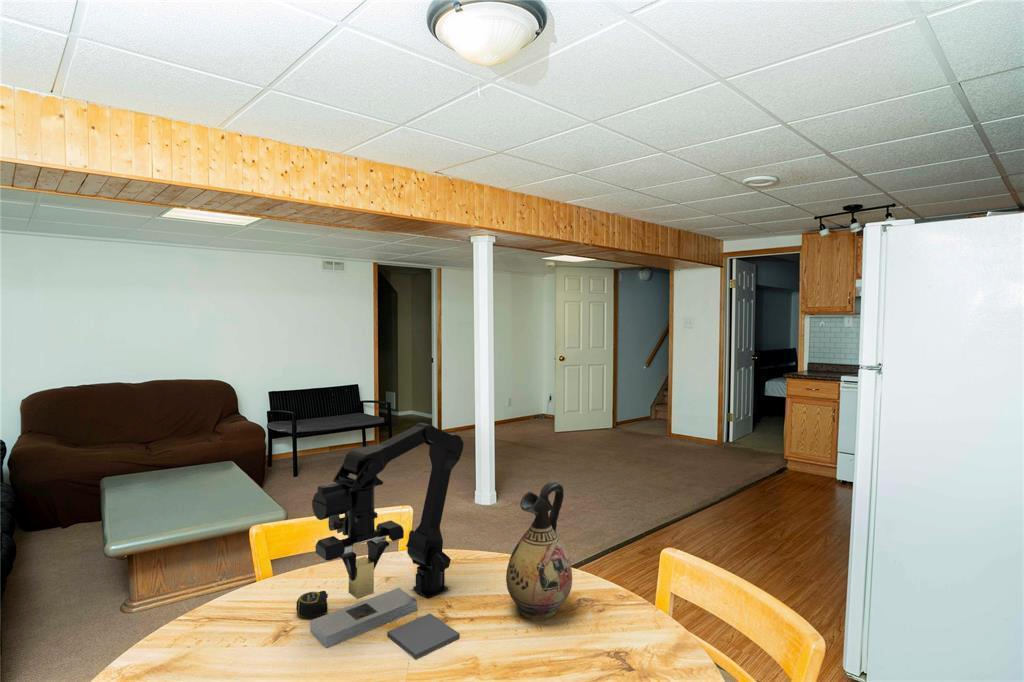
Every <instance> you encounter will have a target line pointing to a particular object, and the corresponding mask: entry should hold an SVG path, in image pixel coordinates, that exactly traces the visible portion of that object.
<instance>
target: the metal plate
mask: <svg viewBox="0 0 1024 682" xmlns="http://www.w3.org/2000/svg"><path fill="white" fill-rule="evenodd" d="M414 612H418V599H416V598H415V597H413V596H412V595H410V594H409V593H408V592H406V591H405V590H403V589H402V588H400V587H397V588H394V589H392V590H389V591H386V592H384V593H380V594H377V595H375V596H372V597H369V598H368V599H365V600H363V601H362V600H361V601H359V602H357V603H354V604H352V605H351V604H350V605H348V606H347V607H344V608H343V607H342V608H341V609H337V610H335V611H333V612H330V613H326V614H323V615H322V616H321V615H320V617H319V616H318V617H316V618H314V619H313V618H312V619H310V620H309V623H310V624H309V627H310V628H309V632H310V634H312V636H313V637H314V638H315V639H316V640H318V641H319V643H320V644H321V645H323V646H324V648H326V649H327V648H330V647H333V646H335V645H337V644H340V643H342V642H344V641H347V640H350V639H353V638H355V637H358V636H359V635H362V634H364V633H366V632H367V633H368V632H369V631H371V630H374V629H376V628H378V627H381V626H384V625H386V624H388V623H391V622H392V621H393V622H394V621H395V620H398V619H400V618H402V617H405V616H407V615H410V614H412V613H414ZM364 615H367V616H364ZM362 616H364V617H362ZM359 617H362V618H359ZM356 618H359V619H356Z"/></svg>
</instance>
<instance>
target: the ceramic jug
mask: <svg viewBox="0 0 1024 682" xmlns="http://www.w3.org/2000/svg"><path fill="white" fill-rule="evenodd" d="M553 492H554V499H553V502H552V503H551V501H550V500H549V496H550V495H551V494H552V493H553ZM564 494H565V493H564V486H563V485H562V484H560V483H559V482H556V481H553V482H548V483H546V484H545V485H543V487H542V488H541V490H540V493H539V495H537V494H535V493H534V492H532V491H527V493H525V494H524V495H523V496H522V497H521V500H520V503H519V506H520V509H521V511H523V512H526V513H530V514H533V515H534V516H535V517H534V520H533V521H532V523H531V525H530V526H529V528H527V530H526V531H525V533H523V535H522V537H521V538H520V539H519V541H518V543H517V544H516V545H515V547H514V548H513V550H512V552H511V554H510V558H509V561H508V565H507V569H506V575H505V583H506V587H507V588H506V589H507V592H508V594H509V596H510V598H511V599H512V600H513V602H514V603H515V605H516V606H517V612H518V611H519V612H518V613H519V615H520V616H521V617H524V618H527V619H530V620H533V619H539V620H538V621H541V619H544V620H546V619H550V618H552V617H553V615H556V614H557V612H558V609H559V607H560V606H561V605H562V604H563V603H564V602H565V601H566V600H567V599H568V596H569V595H570V593H571V590H572V588H573V587H572V586H573V571H572V564H571V561H570V560H571V559H570V558H569V553H568V552H567V550H566V548H565V546H564V544H563V542H562V541H561V539H560V537H559V536H558V534H557V526H558V525H557V524H558V523H557V522H558V519H559V514H560V513H561V512H560V511H561V507H562V505H563V501H564V497H565V496H564ZM549 511H550V512H549Z"/></svg>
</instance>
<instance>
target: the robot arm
mask: <svg viewBox="0 0 1024 682" xmlns="http://www.w3.org/2000/svg"><path fill="white" fill-rule="evenodd" d="M423 444H425V445H426V446H429V449H428V450H429V451H428V456H429V459H430V463H431V471H430V476H429V481H428V484H427V489H426V495H425V499H424V504H423V509H422V513H421V518H420V523H419V525H418V526H417V527H416V529H415V530H410V531H409V534H408V540H407V543H406V545H405V547H406V548H407V550H406V551H407V555H408V557H409V558H410V559H411V561H412V563H413V564H414V565H417V566H416V573H415V586H413V587H412V588H413V590H414V591H416V592H417V593H418V594H419V595H421V596H423V597H424V598H426V599H429V598H432V597H434V596H437V595H439V594H442V593H444V592H448V591H449V587H448V586H446V585H445V584H446V583H445V574H446V572H445V571H446V569H449V568H450V564H451V560H452V559H451V558H450V557H449V556H448V555H447V554H446V553H445V552H444V551H443V545H444V544H443V543H444V540H443V536H442V535H443V534H442V533H441V532H442V531H441V523H442V518H443V514H444V508H445V504H446V497H447V492H448V487H449V483H450V478H451V474H452V470H453V469H454V468H455V466H456V465H457V464H458V463H459V462H460V458H461V455H462V452H463V450H464V440H463V439H462V437H461V436H460V435H458V434H454V433H449V432H445V431H444V430H441V429H439V428H437V427H435V426H434V425H432V424H428V423H425V422H424V423H423V422H418V423H416V424H415V425H414V426H413V427H410V428H408V429H406V430H404V431H402V432H400V433H399V434H396V435H394V436H392V437H390V438H388V439H387V440H384V441H383V442H380V443H378V444H375V445H369V446H363V447H359V448H356V449H352V450H350V451H348V452H347V453H346V454H345V457H344V460H343V462H342V465H341V466H340V468H339V470H338V471H337V473H336V475H335V476H334V478H333V480H332V482H333V483H331V484H327V485H325V484H323V485H318V487H317V491H316V492H315V493H314V495H313V497H312V500H311V508H312V512H313V515H314V516H315V518H316V519H317V520H319V521H322V520H323V521H324V520H326V519H328V525H327V526H328V529H329V531H330V532H333V531H336V533H337V534H340V533H342V536H347V537H346V538H342V539H339V538H338V537H336V536H334V535H331V536H328V537H325V538H322V539H321V538H320V539H318V541H317V542H316V544H315V554H317V555H318V556H319V557H321V558H322V559H323V560H325V561H329V562H330V561H333V560H336V559H341V560H342V563H343V564H344V567H345V569H346V572H347V574H348V578H349V577H350V580H352V581H354V578H355V569H356V559H357V553H356V552H354V550H353V547H354V546H358V545H361V544H364V543H366V544H367V545H366V546H367V558H368V559H370V560H371V561H373V562H374V570H375V569H376V567H377V565H378V562H379V560H380V558H381V557H382V555H383V553H384V551H385V550H386V548H387V547H389V546H390V542H388V541H387V537H388V539H389V540H391V541H392V542H395V541H398V540H402V539H404V536H405V534H404V532H405V531H404V528H403V526H402V525H401V524H399V523H397V522H395V521H393V520H387V521H384V522H383V521H382V522H381V523H377V525H375V519H377V518H378V512H376V510H375V509H376V508H375V506H376V505H375V502H376V501H375V499H376V497H375V487H378V486H382V485H383V484H384V481H383V480H381V479H380V478H379V477H378V475H379V474H380V473H382V472H383V471H384V470H385V468H386V466H387V465H388V464H389V463H390V462H391V461H393V460H395V459H397V458H398V457H401V456H403V455H404V454H407V453H408V452H410V451H411V450H414V449H416V448H417V447H419V446H421V445H423ZM350 476H351V477H350ZM352 477H354V478H355V479H354V478H352ZM340 515H344V516H343V517H340ZM375 526H376V527H375ZM375 528H376V529H375Z"/></svg>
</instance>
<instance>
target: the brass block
mask: <svg viewBox="0 0 1024 682" xmlns="http://www.w3.org/2000/svg"><path fill="white" fill-rule="evenodd" d="M374 587H375V569H374V562H373V561H371V560H370V559H368V556H362V557H360V558H359V557H358V558H356V569H355V578H354V581H352V580H350V577H349V576H348V593H349V594H350V595H351V596H353V597H354V598H355V599H356V600H359V599H362V598H365V597H367V596H370V595H373V594H374V593H375V589H374Z"/></svg>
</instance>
